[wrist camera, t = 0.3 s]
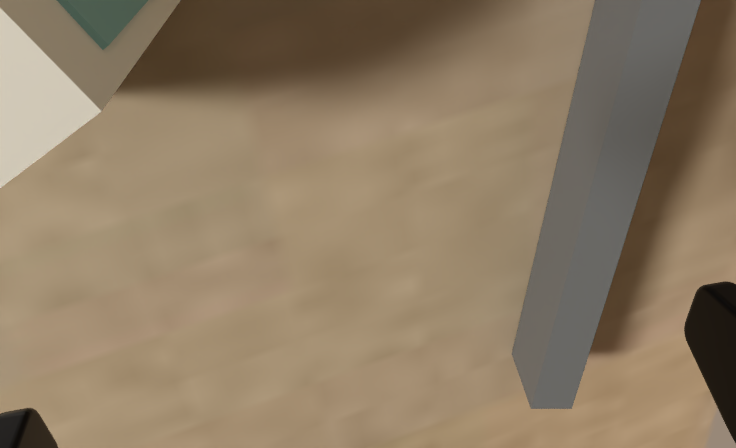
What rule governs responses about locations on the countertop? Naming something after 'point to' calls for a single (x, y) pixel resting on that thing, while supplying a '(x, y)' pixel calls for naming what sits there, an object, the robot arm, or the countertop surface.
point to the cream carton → (64, 67)
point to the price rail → (597, 186)
